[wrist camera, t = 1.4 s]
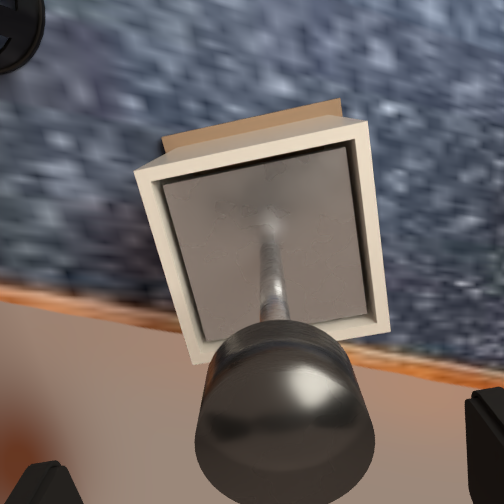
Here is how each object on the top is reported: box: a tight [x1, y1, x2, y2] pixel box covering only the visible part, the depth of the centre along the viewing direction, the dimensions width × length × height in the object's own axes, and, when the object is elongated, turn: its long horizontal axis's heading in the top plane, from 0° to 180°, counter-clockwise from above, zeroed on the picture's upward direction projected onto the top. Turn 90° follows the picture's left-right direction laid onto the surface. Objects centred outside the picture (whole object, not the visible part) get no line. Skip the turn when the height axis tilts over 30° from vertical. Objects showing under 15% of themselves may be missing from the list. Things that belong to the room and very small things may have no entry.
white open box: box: [134, 98, 391, 365], centre depth 29 cm, size 14×14×13 cm
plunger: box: [163, 146, 375, 504], centre depth 17 cm, size 10×10×15 cm
